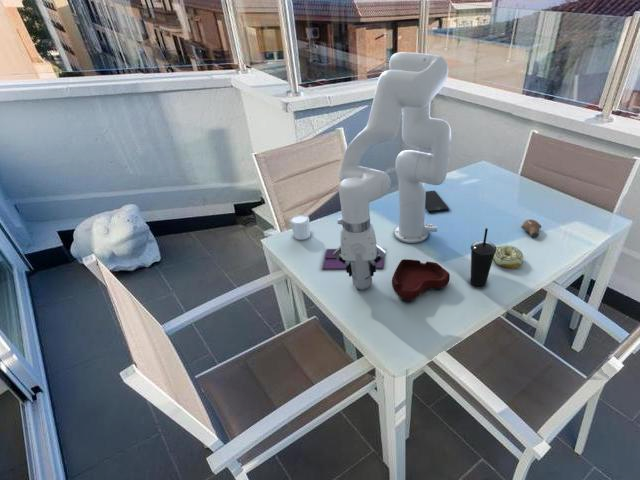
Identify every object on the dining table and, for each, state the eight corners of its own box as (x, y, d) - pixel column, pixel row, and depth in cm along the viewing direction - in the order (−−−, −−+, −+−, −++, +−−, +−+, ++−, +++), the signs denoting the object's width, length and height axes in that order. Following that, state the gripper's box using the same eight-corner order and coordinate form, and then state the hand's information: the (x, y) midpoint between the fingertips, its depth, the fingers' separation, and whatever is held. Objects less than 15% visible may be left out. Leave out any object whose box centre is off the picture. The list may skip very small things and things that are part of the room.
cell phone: (429, 213, 158) (429, 211, 158) (416, 194, 172) (416, 192, 171) (449, 210, 161) (449, 208, 160) (434, 192, 174) (434, 190, 173)
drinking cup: (491, 278, 125) (501, 224, 112) (487, 293, 119) (497, 238, 107) (468, 273, 127) (476, 220, 114) (463, 287, 121) (470, 232, 109)
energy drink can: (371, 290, 118) (368, 250, 109) (351, 290, 118) (346, 250, 109) (373, 278, 123) (370, 238, 114) (354, 278, 123) (349, 238, 114)
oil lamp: (515, 234, 148) (535, 241, 144) (517, 226, 145) (537, 233, 141) (526, 222, 153) (545, 229, 149) (527, 214, 150) (547, 221, 146)
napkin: (383, 250, 137) (383, 248, 136) (382, 268, 128) (382, 266, 128) (326, 250, 136) (326, 249, 136) (322, 269, 128) (322, 267, 127)
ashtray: (424, 262, 131) (424, 250, 128) (453, 288, 120) (454, 276, 117) (378, 279, 124) (377, 267, 120) (405, 308, 113) (405, 296, 110)
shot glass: (307, 241, 141) (304, 224, 136) (289, 239, 142) (286, 222, 137) (314, 232, 146) (312, 215, 142) (297, 230, 147) (294, 213, 143)
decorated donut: (495, 270, 128) (496, 261, 126) (487, 252, 137) (489, 243, 134) (525, 269, 129) (527, 260, 126) (516, 251, 137) (518, 242, 135)
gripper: (323, 230, 103) (332, 282, 115) (387, 229, 104) (389, 280, 115) (327, 216, 109) (334, 266, 121) (387, 215, 110) (389, 265, 121)
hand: (361, 273), depth 118 cm, fingers closed on energy drink can, 6 cm apart
